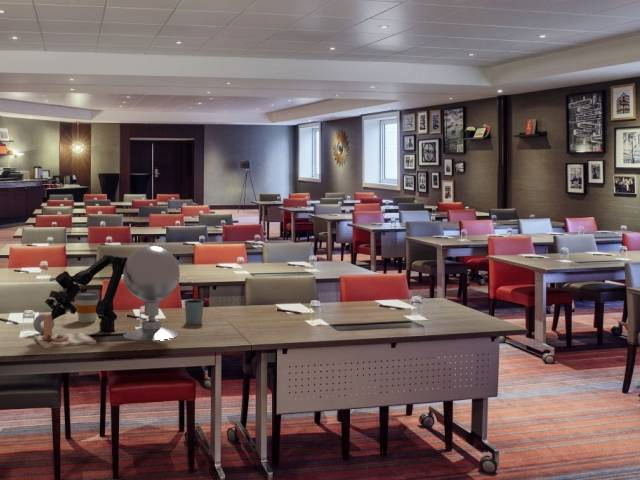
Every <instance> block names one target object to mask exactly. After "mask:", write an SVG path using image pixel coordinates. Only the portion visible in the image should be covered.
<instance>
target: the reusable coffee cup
mask: <svg viewBox="0 0 640 480" xmlns="http://www.w3.org/2000/svg"><path fill="white" fill-rule="evenodd" d="M74 300H75V307H76V308H77V311H76V313H77V318H78V319H77V320H78V322H79V323H83V324H85V323H86V322H90V323H94V322H93V321H95V322H96V321H97V317H98V315H97V313H96V308H95V307H96V306H97V303H98V301H100V293H99V292H97V291H84V293H78V294H77V295H76V297H75V298H74ZM86 324H87V323H86Z"/></svg>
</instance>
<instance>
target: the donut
mask: <svg viewBox="0 0 640 480" xmlns="http://www.w3.org/2000/svg"><path fill="white" fill-rule="evenodd" d="M44 315H47V313H42V314H41V313H40V314H38V315H37V316H36V317H35V318H34V320H33V329H34V330H35V331H36V332H37V333H39V334H43V335H44V326H42V324H41V323H42V322H44ZM54 327H55V319H54V320H52V330H53V329H54Z"/></svg>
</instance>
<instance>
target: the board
mask: <svg viewBox="0 0 640 480" xmlns="http://www.w3.org/2000/svg"><path fill="white" fill-rule="evenodd" d="M43 336H44V335H38V336H37V335H35V336H34V337H33V339H34V340H35V342H37V343H38V344H39V345H40V346H41V347H42V348H44V349H50V348H51V349H53V348H63V347H73V346H83V345H84V346H85V345H95V344H97V340H96V339H94V338H93V337H92V336H90V335H88V334H87V333H85V332H74V333H73V332H72V333H61V334H59V333H58V334H52V336H57V338H59V339H62V338H63V337H69V339H67V340H65V341H52V340H51V335H47V340H46V339H41V337H43ZM52 347H53V348H52Z"/></svg>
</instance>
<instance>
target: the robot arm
mask: <svg viewBox="0 0 640 480" xmlns="http://www.w3.org/2000/svg"><path fill="white" fill-rule="evenodd" d="M128 258H129V257H125V256H114V255H112V254H104V255H103V257H101V258H100V259H99V260H97V261H95V263H93V264H92V265H90V266H89V267H88V268H86V269H84V270H80V271H78V272H76V273H75V274H73V275H72V276H71V275H70V273H69V272H68V271H65V270H63V272H61V273H60V274H57V276H56V277H55V282H56V283H57V284H58V285H59V286H60V287H61V288H62V289H63V291H62V290H59V291H56V290H50V293H49V295H48V298H47V299H46V300H45V301H44V303H45V304H46V305H47V306H48V307H49V308H51V309H50V310H51V312H50V315H52V320H54V321H55V319H57V318H59V317H61V316H63V315H66V314H67V311H69V312H70V314H73V315H75V314H76V313H77V308H76V305H74V304H73V302H76V299H75V297H76V295H77V294H78V293H84V292H85V291H84V286H87V285H89V284H90V283H91V282H92V280H93V279H94V276H96V275H97V274H98V273H99V272H101V271H102V270H103V269H105V268H106V267H108V266H109V265H110V264H111V267H112V268H111V269H112V274H111V276H110V279H109V282H108V285H107V288H106V290H105V293H104V296H103V298H102V299H101V300H98V303H97V306H96V307H95V308H96V313H97V317H98V319H100V321H99V331H100V332H102V333H113V331H114V332H116V330H115V320H117V318H118V315H117V314H116V312H114V309H115V307H114V299H115V296H116V295H117V291H118V288H119V285H120V283H121V279H122V276H123V271H124V266H125V263H126V261H127V259H128ZM82 286H83V287H82ZM64 289H65V290H64Z"/></svg>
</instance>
